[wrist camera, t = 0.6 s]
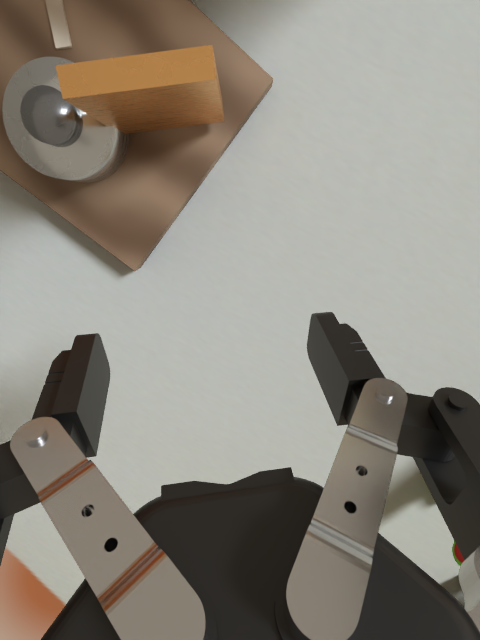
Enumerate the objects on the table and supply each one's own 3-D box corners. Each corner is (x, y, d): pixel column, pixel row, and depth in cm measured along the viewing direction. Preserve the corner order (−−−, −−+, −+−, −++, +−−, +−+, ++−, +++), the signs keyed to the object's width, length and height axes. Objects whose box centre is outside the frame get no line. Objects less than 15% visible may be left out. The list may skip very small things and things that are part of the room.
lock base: (71, -100, 28) (56, -126, 26) (271, 86, 32) (273, 77, 29) (-46, 127, 33) (-67, 121, 31) (140, 267, 36) (133, 271, 34)
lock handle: (46, 187, 32) (-50, 176, 21) (20, 83, 30) (-101, 13, 19) (229, 165, 31) (223, 143, 21) (217, 57, 29) (203, -29, 19)
